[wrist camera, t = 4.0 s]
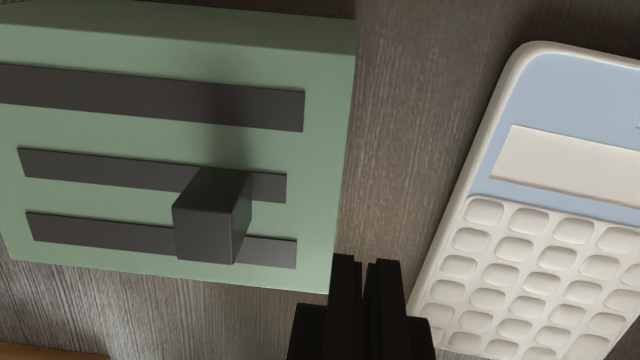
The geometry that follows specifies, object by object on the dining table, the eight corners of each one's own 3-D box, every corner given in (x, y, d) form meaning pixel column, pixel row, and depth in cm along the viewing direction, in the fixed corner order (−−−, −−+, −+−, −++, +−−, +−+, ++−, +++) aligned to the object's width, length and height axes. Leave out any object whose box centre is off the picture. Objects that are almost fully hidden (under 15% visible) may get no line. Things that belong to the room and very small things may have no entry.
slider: (208, 205, 16) (176, 260, 13) (205, 158, 15) (169, 206, 12) (255, 210, 15) (233, 266, 13) (255, 163, 15) (231, 212, 12)
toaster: (107, 174, 25) (8, 261, 18) (71, -6, 20) (-85, 15, 13) (337, 198, 24) (329, 297, 17) (356, 19, 20) (356, 55, 13)
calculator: (395, 323, 29) (398, 346, 27) (513, 31, 19) (528, 38, 18) (578, 360, 29) (591, 384, 28) (784, 90, 20) (824, 102, 18)
